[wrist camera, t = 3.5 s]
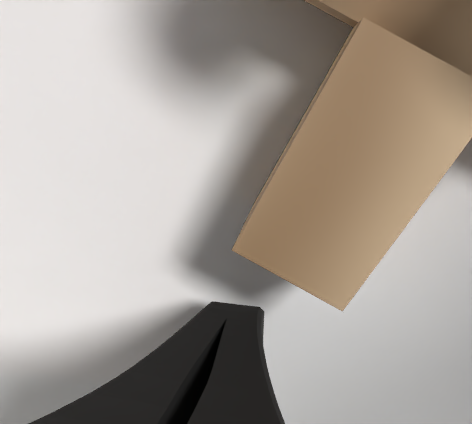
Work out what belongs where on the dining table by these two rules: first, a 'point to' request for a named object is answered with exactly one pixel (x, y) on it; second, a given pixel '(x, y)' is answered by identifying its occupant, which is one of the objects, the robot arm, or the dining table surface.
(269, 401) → the robot arm
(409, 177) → the tan t-shaped block
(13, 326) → the dining table surface
